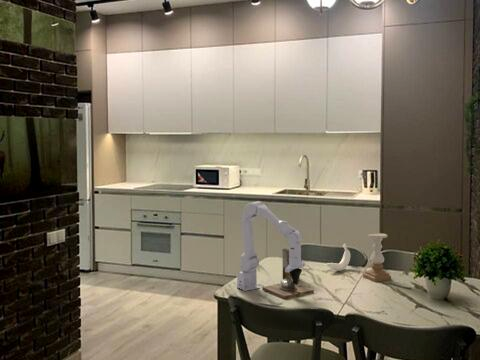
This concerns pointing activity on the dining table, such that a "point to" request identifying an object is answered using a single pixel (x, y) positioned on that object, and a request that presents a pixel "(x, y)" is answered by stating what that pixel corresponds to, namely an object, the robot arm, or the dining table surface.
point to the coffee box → (286, 263)
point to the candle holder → (377, 260)
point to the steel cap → (288, 283)
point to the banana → (343, 263)
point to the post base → (287, 291)
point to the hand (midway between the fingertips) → (295, 283)
